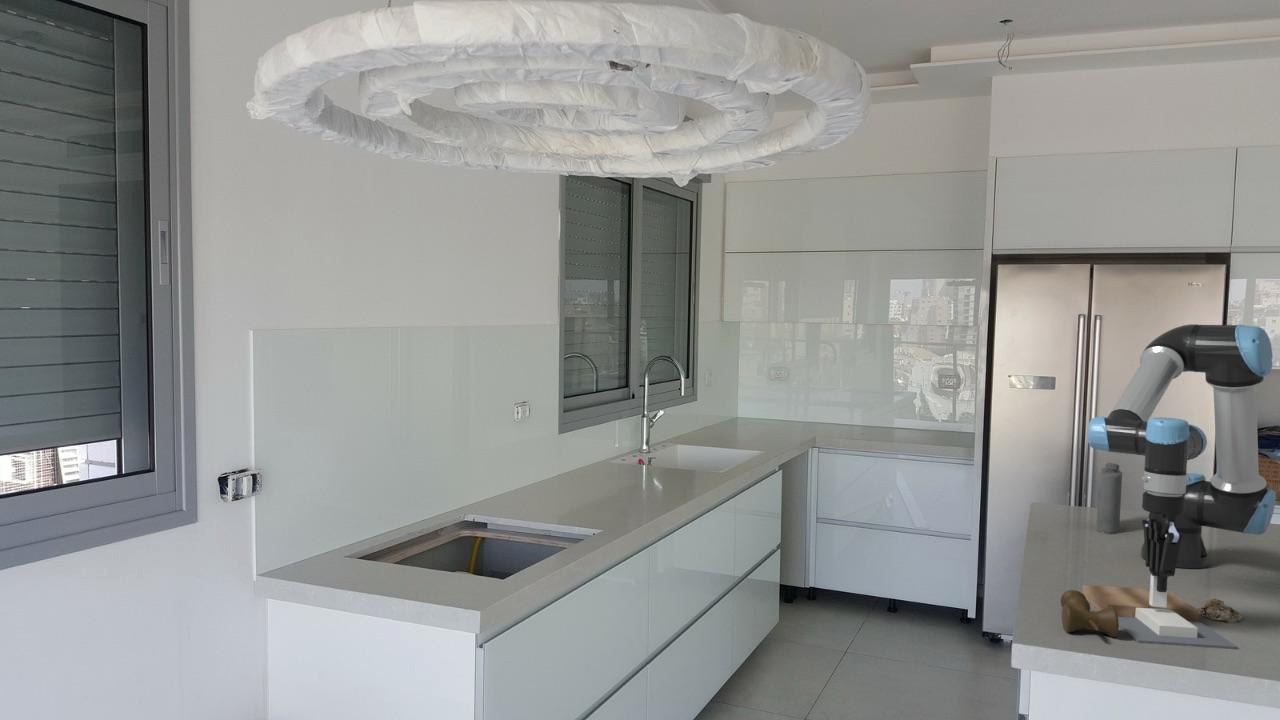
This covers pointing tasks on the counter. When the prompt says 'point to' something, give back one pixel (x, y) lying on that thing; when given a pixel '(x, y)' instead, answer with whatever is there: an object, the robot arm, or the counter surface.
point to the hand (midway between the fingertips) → (1157, 605)
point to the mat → (1145, 634)
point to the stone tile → (1166, 622)
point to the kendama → (1086, 615)
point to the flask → (1109, 499)
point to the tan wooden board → (1135, 601)
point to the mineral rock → (1219, 611)
